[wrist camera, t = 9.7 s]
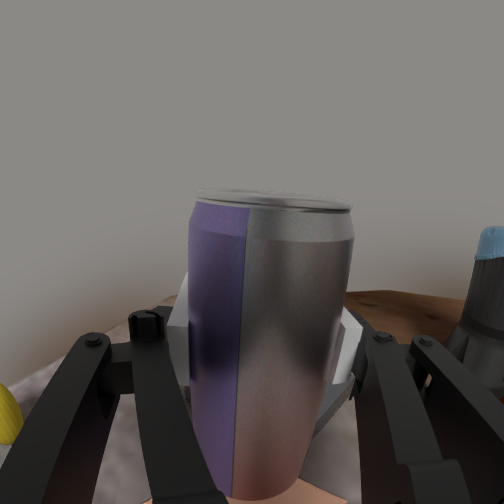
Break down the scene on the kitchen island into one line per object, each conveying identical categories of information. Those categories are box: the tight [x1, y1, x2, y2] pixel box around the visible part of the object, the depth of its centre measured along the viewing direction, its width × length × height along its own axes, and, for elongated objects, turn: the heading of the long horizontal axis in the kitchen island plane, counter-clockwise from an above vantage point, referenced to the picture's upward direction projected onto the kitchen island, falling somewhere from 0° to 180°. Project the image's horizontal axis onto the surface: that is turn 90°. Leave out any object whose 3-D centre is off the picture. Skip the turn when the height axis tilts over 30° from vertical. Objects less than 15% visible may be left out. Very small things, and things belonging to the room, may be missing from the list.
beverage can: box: [188, 188, 354, 501], centre depth 12 cm, size 6×6×15 cm
